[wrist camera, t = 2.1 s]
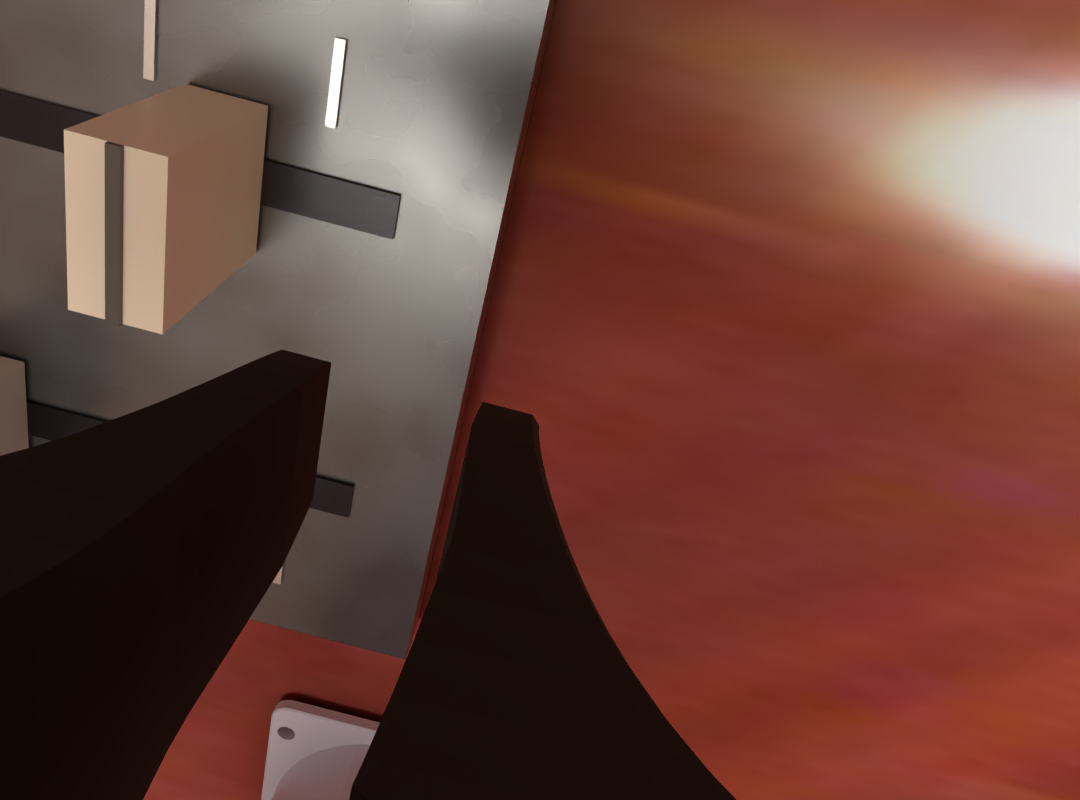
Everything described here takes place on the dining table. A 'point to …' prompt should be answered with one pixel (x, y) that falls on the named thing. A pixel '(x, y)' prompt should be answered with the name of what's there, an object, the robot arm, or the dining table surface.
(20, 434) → the fader cap grey
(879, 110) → the dining table surface
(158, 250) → the fader cap ivory
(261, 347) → the mixing console
